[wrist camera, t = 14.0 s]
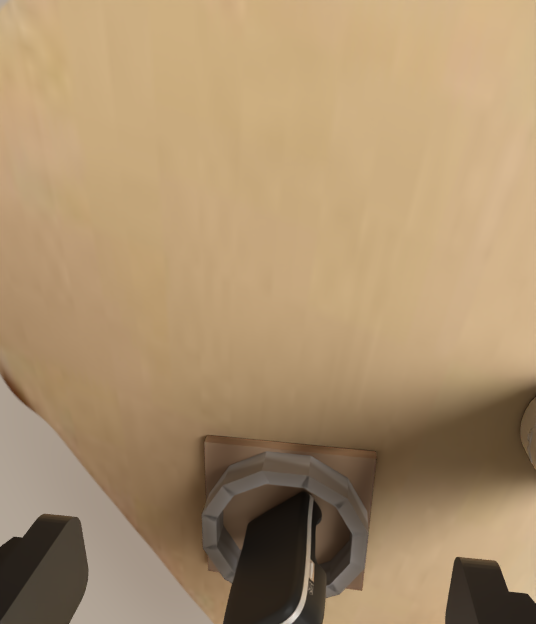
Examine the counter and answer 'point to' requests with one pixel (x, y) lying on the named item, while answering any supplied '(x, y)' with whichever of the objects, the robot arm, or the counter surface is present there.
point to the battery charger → (280, 568)
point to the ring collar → (280, 487)
